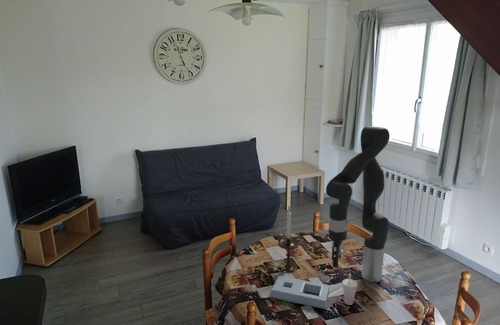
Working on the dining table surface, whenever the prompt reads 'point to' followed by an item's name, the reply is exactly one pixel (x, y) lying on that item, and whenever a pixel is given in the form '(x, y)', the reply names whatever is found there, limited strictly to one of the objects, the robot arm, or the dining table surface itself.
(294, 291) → the socket block
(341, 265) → the dining table surface
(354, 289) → the smoothie
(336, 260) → the robot arm
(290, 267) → the candlestick
